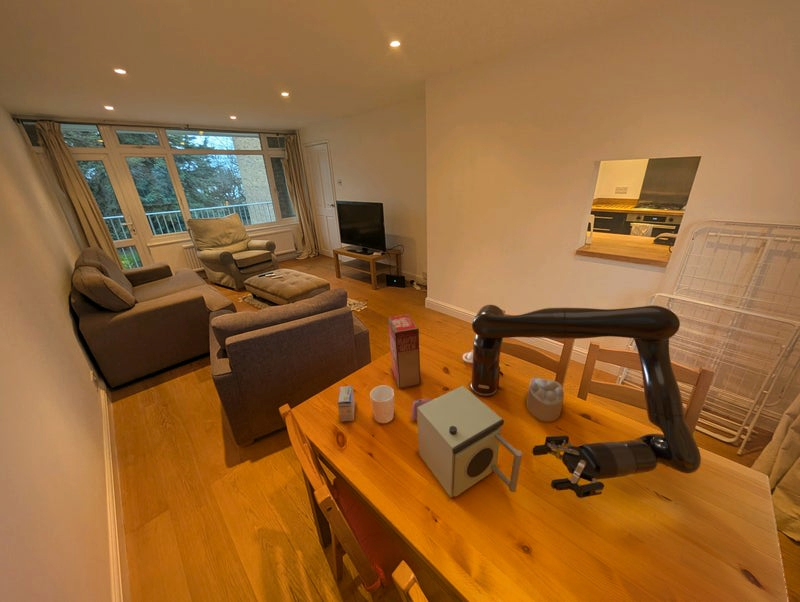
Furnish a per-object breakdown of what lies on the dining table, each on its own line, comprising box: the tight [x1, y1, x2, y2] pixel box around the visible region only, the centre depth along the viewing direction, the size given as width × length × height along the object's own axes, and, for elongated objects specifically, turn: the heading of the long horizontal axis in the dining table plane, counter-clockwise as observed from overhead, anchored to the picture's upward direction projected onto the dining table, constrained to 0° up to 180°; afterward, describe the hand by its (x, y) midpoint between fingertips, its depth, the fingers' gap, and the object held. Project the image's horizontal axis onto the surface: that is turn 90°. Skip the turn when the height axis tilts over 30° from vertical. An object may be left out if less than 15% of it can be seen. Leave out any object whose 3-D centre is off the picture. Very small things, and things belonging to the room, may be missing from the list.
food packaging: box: [387, 313, 422, 390], centre depth 114 cm, size 13×9×25 cm
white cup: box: [369, 384, 395, 424], centre depth 98 cm, size 8×8×10 cm
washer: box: [416, 385, 505, 499], centre depth 80 cm, size 16×16×19 cm
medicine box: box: [337, 385, 356, 423], centre depth 100 cm, size 8×4×9 cm, turn 5°
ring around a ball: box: [462, 349, 473, 365], centre depth 125 cm, size 8×6×8 cm
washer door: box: [453, 428, 523, 497], centre depth 70 cm, size 14×8×14 cm, turn 120°
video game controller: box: [411, 398, 433, 423], centre depth 98 cm, size 10×5×7 cm, turn 84°
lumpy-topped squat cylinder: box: [526, 377, 565, 423], centre depth 98 cm, size 10×13×9 cm
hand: (542, 467), depth 70 cm, fingers open, 8 cm apart
